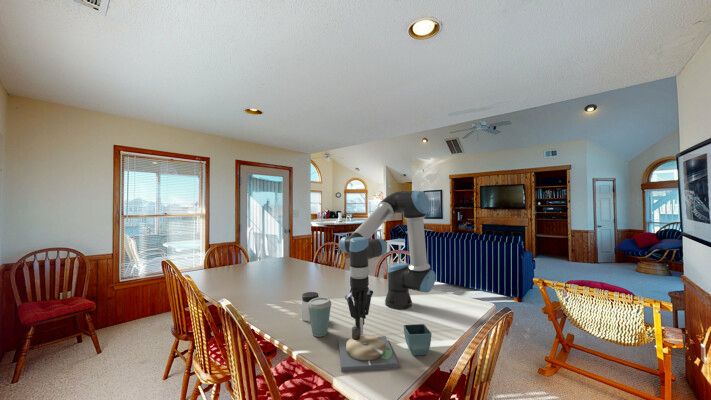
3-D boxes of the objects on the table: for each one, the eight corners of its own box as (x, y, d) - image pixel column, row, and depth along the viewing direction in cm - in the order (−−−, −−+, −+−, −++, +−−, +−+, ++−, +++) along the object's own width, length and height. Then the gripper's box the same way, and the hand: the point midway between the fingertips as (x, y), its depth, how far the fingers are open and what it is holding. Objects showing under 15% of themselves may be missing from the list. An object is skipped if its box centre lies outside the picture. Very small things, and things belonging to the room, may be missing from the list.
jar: (305, 323, 133) (305, 298, 133) (299, 317, 140) (298, 293, 140) (322, 318, 138) (322, 294, 138) (315, 313, 145) (315, 290, 145)
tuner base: (385, 339, 116) (385, 335, 116) (398, 367, 96) (398, 362, 96) (338, 342, 114) (338, 338, 114) (341, 371, 94) (341, 366, 94)
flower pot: (403, 346, 110) (402, 324, 111) (424, 345, 111) (424, 323, 111) (409, 359, 102) (409, 334, 102) (432, 357, 102) (432, 333, 103)
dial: (396, 352, 103) (396, 336, 103) (366, 367, 94) (366, 349, 94) (367, 335, 116) (367, 321, 116) (338, 347, 107) (338, 332, 107)
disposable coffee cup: (311, 341, 115) (310, 305, 115) (305, 330, 125) (304, 297, 125) (334, 336, 119) (334, 301, 120) (327, 326, 129) (327, 294, 130)
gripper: (365, 271, 118) (366, 325, 118) (341, 276, 110) (341, 334, 111) (377, 275, 112) (377, 332, 112) (351, 281, 104) (352, 342, 105)
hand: (359, 333), depth 112 cm, fingers closed
